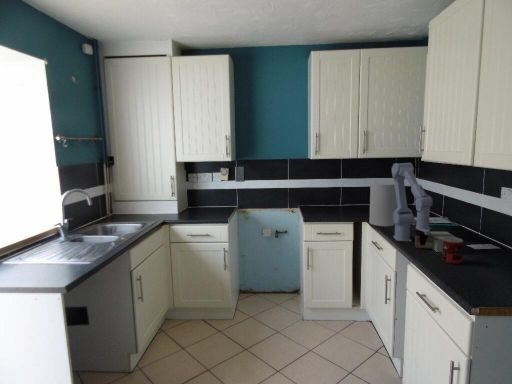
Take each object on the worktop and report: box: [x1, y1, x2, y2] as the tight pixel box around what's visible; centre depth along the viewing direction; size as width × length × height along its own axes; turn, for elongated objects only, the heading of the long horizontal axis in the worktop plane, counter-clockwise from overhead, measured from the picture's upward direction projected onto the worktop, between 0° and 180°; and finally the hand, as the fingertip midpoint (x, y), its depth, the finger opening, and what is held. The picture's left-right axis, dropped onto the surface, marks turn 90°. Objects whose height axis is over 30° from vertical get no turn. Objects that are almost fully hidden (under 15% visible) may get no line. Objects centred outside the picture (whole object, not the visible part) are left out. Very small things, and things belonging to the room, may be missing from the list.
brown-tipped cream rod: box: [414, 235, 433, 249], centre depth 172 cm, size 2×14×6 cm, turn 82°
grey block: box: [429, 231, 456, 253], centre depth 171 cm, size 14×11×8 cm
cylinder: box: [369, 182, 397, 227], centre depth 225 cm, size 17×17×28 cm
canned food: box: [441, 236, 464, 265], centre depth 152 cm, size 8×8×11 cm
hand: (421, 244), depth 173 cm, fingers closed on brown-tipped cream rod, 2 cm apart
